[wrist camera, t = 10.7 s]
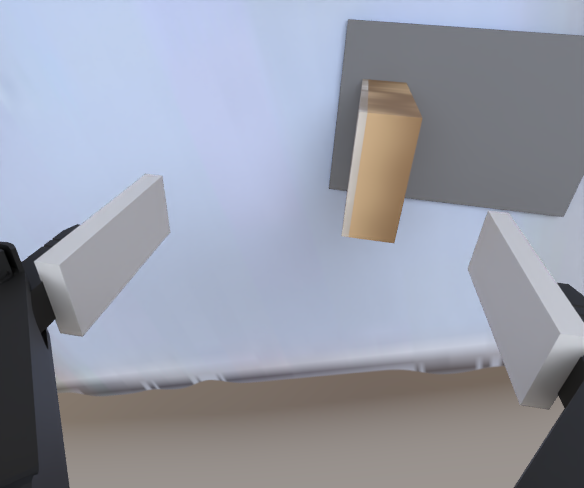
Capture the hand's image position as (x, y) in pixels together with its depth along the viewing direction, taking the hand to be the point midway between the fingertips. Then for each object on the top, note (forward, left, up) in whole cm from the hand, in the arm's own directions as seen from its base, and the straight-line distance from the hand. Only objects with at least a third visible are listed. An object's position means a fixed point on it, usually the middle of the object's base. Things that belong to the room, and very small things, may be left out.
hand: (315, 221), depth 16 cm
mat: (+9, +1, -16) cm, 18 cm away
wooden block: (+3, 0, -16) cm, 16 cm away
